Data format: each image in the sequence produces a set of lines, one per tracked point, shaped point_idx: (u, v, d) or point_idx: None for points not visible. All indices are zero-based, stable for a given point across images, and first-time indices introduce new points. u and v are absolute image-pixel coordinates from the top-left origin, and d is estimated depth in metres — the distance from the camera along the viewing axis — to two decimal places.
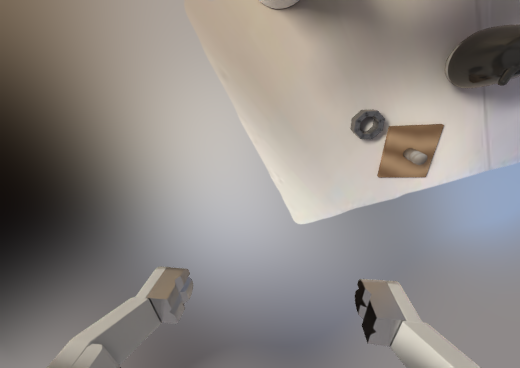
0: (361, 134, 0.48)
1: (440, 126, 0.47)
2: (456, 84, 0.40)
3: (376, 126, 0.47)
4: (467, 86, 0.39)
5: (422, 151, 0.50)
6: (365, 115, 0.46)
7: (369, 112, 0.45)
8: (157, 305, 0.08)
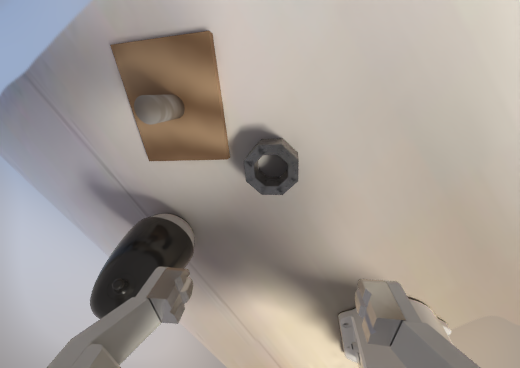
0: (282, 153, 0.22)
1: (152, 158, 0.28)
2: (170, 225, 0.28)
3: (255, 165, 0.24)
4: (156, 228, 0.27)
5: None
6: (281, 188, 0.24)
7: (275, 192, 0.25)
8: (157, 305, 0.08)
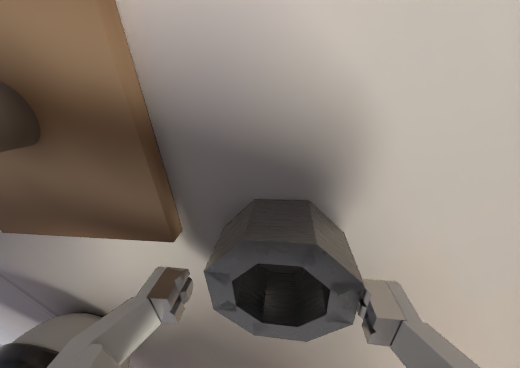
0: (315, 266, 0.07)
1: (7, 228, 0.12)
2: None
3: None
4: None
5: None
6: (305, 331, 0.09)
7: (288, 336, 0.10)
8: (157, 305, 0.08)
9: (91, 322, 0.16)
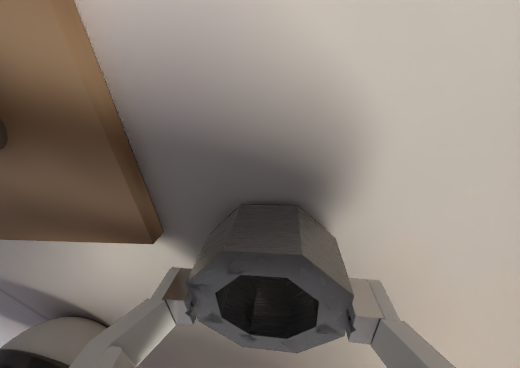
0: (302, 277, 0.07)
1: None
2: None
3: None
4: None
5: None
6: (295, 343, 0.09)
7: (278, 347, 0.09)
8: (173, 306, 0.08)
9: (80, 325, 0.16)
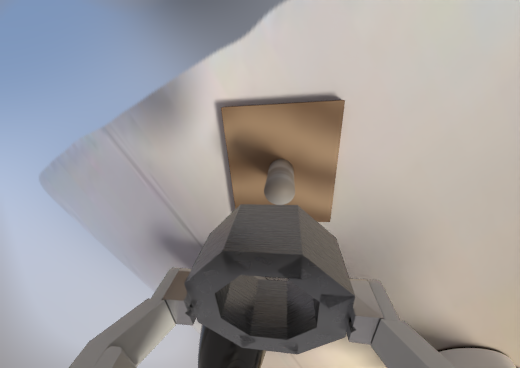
0: (302, 278, 0.07)
1: None
2: None
3: None
4: None
5: (254, 173, 0.22)
6: (295, 344, 0.09)
7: (278, 348, 0.09)
8: (173, 306, 0.08)
9: None
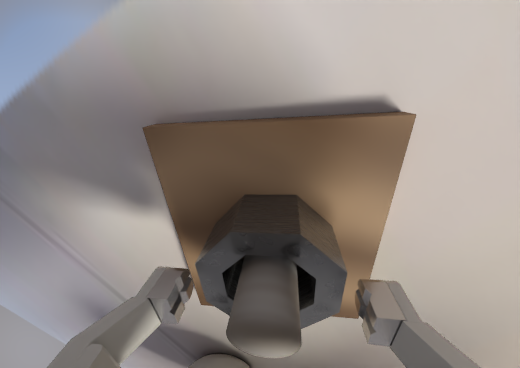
0: (300, 256, 0.08)
1: None
2: None
3: None
4: None
5: None
6: None
7: None
8: (157, 305, 0.08)
9: (236, 364, 0.19)
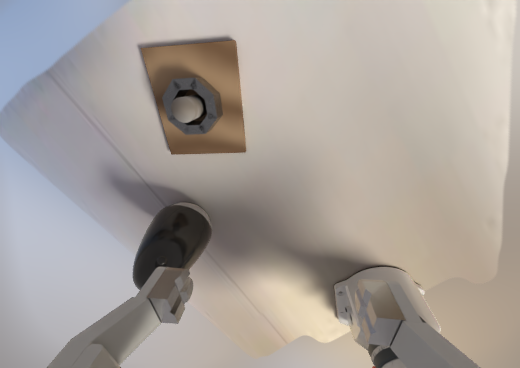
0: (197, 88, 0.23)
1: (174, 152, 0.30)
2: (192, 212, 0.32)
3: None
4: (181, 215, 0.30)
5: None
6: (203, 126, 0.25)
7: (198, 132, 0.25)
8: (157, 305, 0.08)
9: None
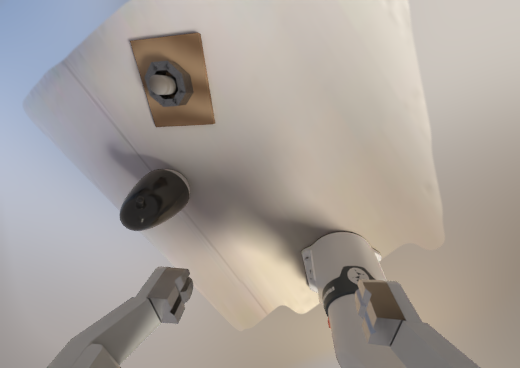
0: (169, 69, 0.30)
1: (158, 125, 0.38)
2: (171, 174, 0.39)
3: None
4: (161, 175, 0.37)
5: None
6: (175, 100, 0.32)
7: (172, 104, 0.33)
8: (157, 305, 0.08)
9: (176, 171, 0.42)
